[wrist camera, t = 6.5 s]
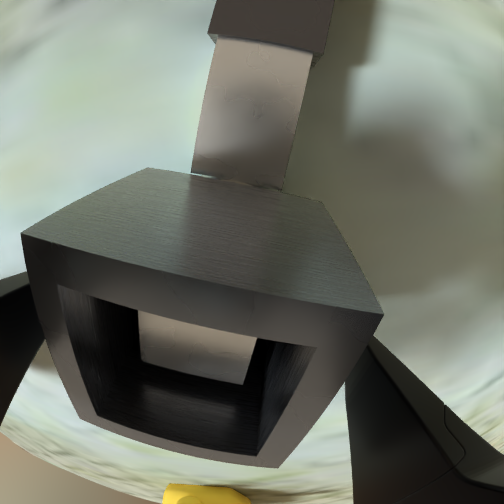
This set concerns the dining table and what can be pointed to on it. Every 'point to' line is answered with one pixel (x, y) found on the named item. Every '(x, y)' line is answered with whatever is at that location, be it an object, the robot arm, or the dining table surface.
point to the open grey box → (200, 310)
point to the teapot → (202, 495)
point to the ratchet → (243, 146)
